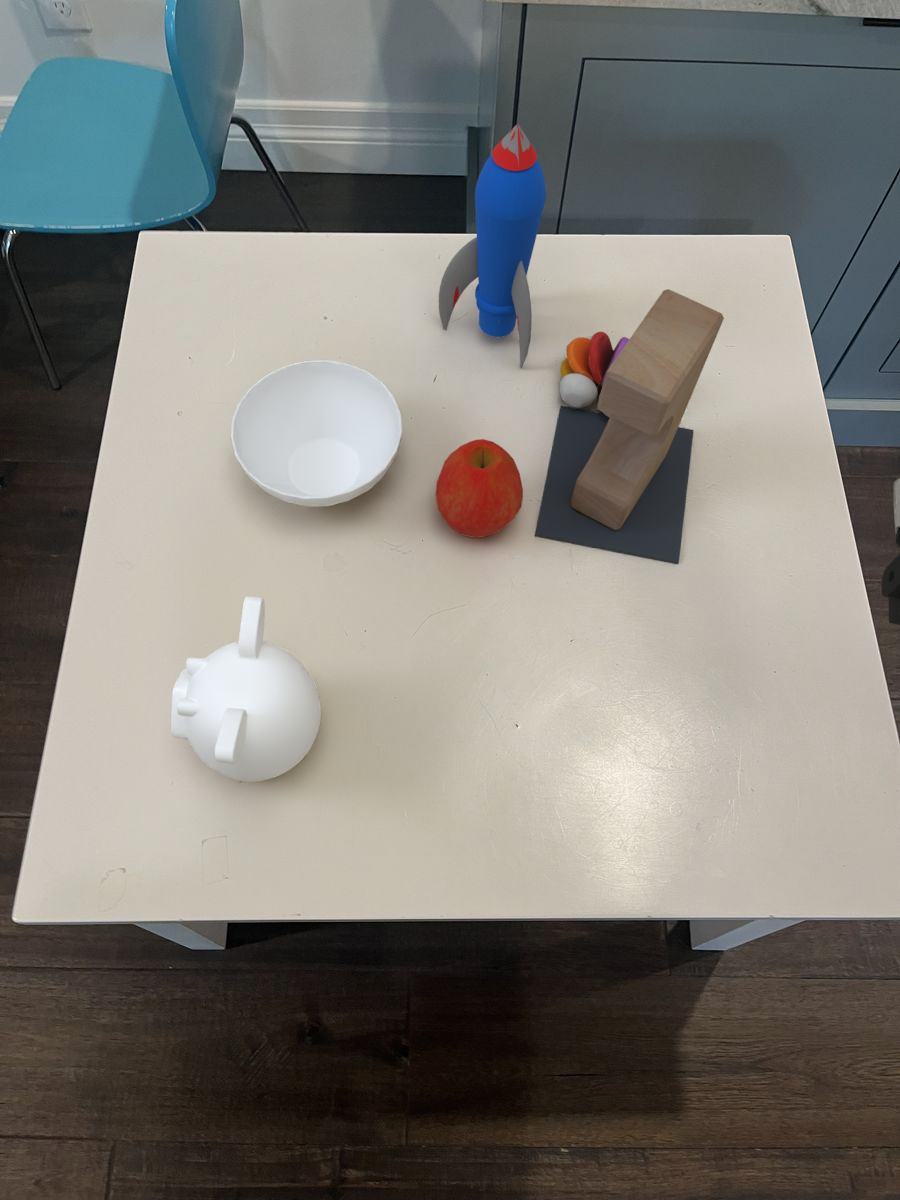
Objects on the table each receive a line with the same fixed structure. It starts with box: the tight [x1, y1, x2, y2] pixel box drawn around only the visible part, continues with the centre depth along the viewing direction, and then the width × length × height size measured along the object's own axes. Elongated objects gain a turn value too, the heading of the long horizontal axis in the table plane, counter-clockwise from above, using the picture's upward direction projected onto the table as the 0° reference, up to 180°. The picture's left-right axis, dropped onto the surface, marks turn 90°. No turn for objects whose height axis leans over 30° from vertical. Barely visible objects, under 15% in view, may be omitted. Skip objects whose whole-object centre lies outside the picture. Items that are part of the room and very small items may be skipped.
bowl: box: [230, 359, 403, 508], centre depth 85 cm, size 16×16×7 cm
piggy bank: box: [170, 595, 322, 782], centre depth 69 cm, size 12×12×15 cm
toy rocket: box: [438, 123, 547, 369], centre depth 85 cm, size 11×10×25 cm
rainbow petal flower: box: [559, 331, 630, 418], centre depth 90 cm, size 8×10×7 cm
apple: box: [435, 438, 524, 538], centre depth 81 cm, size 8×8×11 cm
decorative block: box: [570, 289, 725, 530], centre depth 79 cm, size 11×6×20 cm, turn 147°
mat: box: [534, 404, 694, 565], centre depth 88 cm, size 14×16×1 cm
